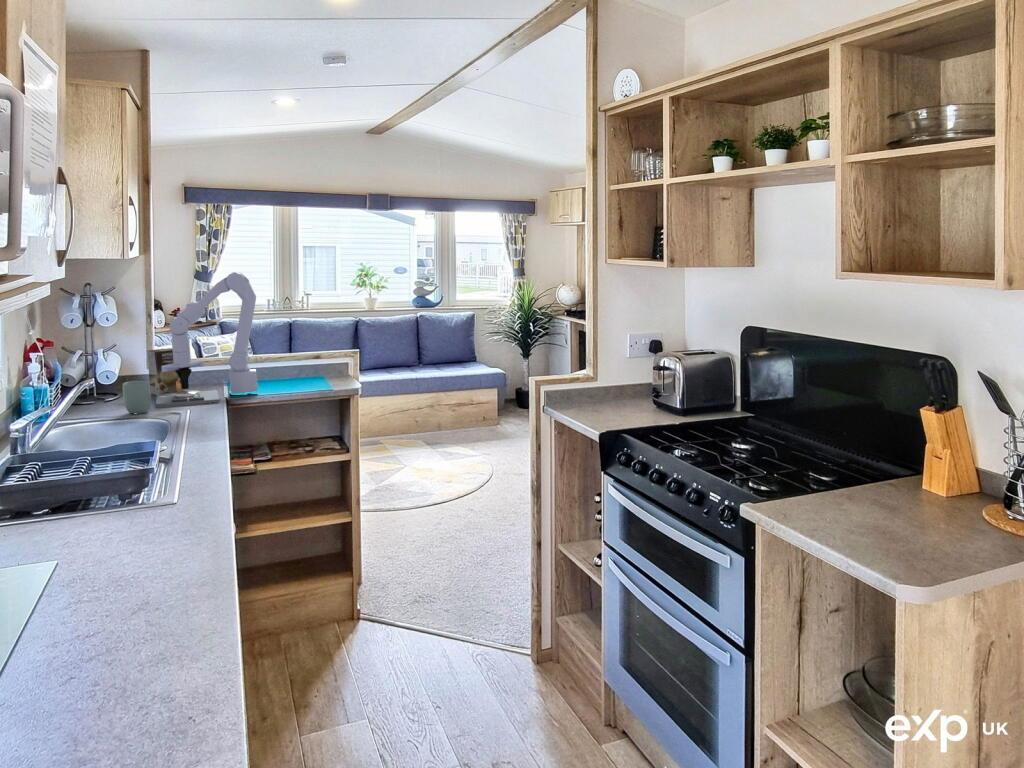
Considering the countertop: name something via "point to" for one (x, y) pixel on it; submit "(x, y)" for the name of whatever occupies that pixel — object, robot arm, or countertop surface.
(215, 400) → the gray mechanism base plate
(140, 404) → the cup
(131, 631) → the countertop surface
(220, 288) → the robot arm
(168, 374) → the coffee box
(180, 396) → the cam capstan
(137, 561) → the countertop surface
